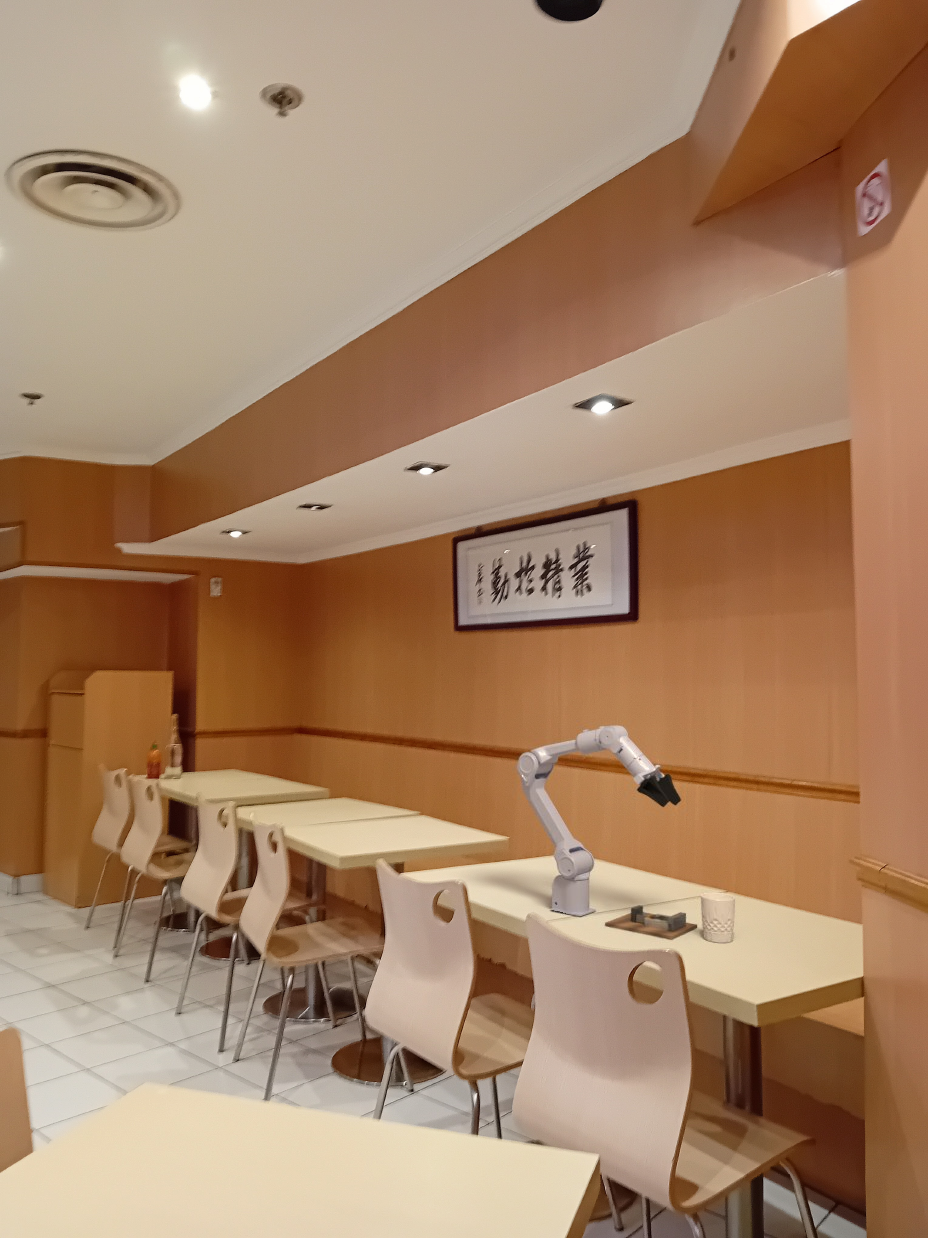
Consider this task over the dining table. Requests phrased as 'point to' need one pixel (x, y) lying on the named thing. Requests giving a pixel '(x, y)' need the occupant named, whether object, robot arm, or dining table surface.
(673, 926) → the gauge body
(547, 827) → the robot arm
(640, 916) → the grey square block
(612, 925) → the walnut board
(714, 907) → the white cup
